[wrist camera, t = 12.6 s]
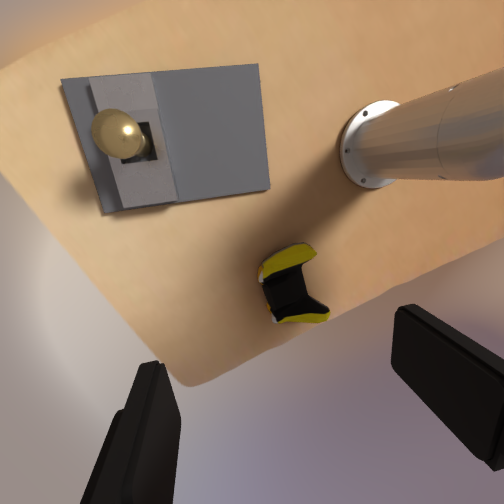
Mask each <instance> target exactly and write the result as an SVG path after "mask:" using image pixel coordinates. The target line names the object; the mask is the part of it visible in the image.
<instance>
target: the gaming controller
mask: <svg viewBox="0 0 504 504" xmlns="http://www.w3.org/2000/svg"><path fill="white" fill-rule="evenodd" d="M316 255H317V252H316V251H315V250H314V249H313V248H312V247H311V246H310V245H308V244H306V243H304V242H302V243H294V244H291V245H289V246H287V247H285V248H283V249H281V250H279V251H277V252H275V253H274V254H272V255H271V256H270V257H268V258H267V259H265V260H264V261H263V262H262V265H261V266H260V267H259V270H258V275H257V279H258V281H259V283H260V284H261V285H262V287H263V290H264V293H265V296H266V299H267V305H266V306H267V308H268V310H269V312H270V313H271V314H272V321H273V323H279V324H281V323H283V322H286V321H288V322H306V323H320V322H324V321H327V319H328V318H329V316H330V310H329V308H328V307H327V306H325V305H324V304H322V303H320V302H319V301H317V300H315V299H314V298H312V297H311V296H309V295H308V293H307V289H306V285H305V281H304V278H303V274H302V269H301V267H302V264H304V263H305V262H307V261H309V260H311V259H312V258H313V257H315V256H316Z"/></svg>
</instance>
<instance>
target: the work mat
mask: <svg viewBox="0 0 504 504" xmlns="http://www.w3.org/2000/svg"><path fill="white" fill-rule="evenodd" d="M144 73H151V74H152V76H153V80H154V85H155V89H156V94H157V98H158V103H159V107H160V112H161V116H162V121H163V125H164V130H165V134H166V139H167V143H168V148H169V152H170V157H171V162H172V166H173V171H174V175H175V180H176V184H177V189H178V193H179V198H180V199H179V200H177V201H170V202H163V203H156V204H149V205H142V206H135V207H128V208H124V207H123V204H122V201H121V197H120V194H119V191H118V187H117V184H116V181H115V177H114V174H113V171H112V167H111V164H110V161H109V158H108V155H107V154H105V153H104V152H102V151H101V150H100V149H99V148H98V146H97V145H96V143H95V142H94V140H93V137H92V133H91V125H92V121H93V119H94V117H95V116H96V114H98V113H99V112H98V109H97V105H96V102H95V98H94V95H93V92H92V88H91V85H90V82H89V78H91V77H80V78H68V79H60V80H61V83H62V86H63V89H64V92H65V95H66V98H67V101H68V104H69V107H70V110H71V113H72V116H73V119H74V122H75V125H76V128H77V131H78V134H79V138H80V141H81V144H82V147H83V150H84V153H85V156H86V159H87V162H88V165H89V168H90V171H91V174H92V177H93V180H94V183H95V186H96V189H97V192H98V195H99V198H100V201H101V204H102V207H103V210H104V213H109V212H116V211H123V210H130V209H137V208H144V207H150V206H157V205H164V204H171V203H178V202H185V201H192V200H199V199H206V198H213V197H219V196H226V195H233V194H240V193H247V192H254V191H261V190H268V189H270V179H269V169H268V159H267V148H266V138H265V128H264V117H263V107H262V97H261V86H260V76H259V66H258V64H245V65H233V66H220V67H207V68H195V69H182V70H169V71H157V72H144ZM131 74H142V73H131ZM118 75H129V74H118ZM106 76H117V75H106ZM93 77H104V76H93ZM140 129H141V132H143V133H144V134H146V135H147V136H148V137H149V138H150V139H151V141H152V144H153V149H152V152H151V154H150V155H148V156H146V157H138V156H135V155H134V156H133V157H130V158H127V159H126V160H127V164H129V163H137V162H145V161H153V160H158V158H157V154H156V150H155V146H154V141H153V137H152V133H151V129H150V126H141V127H140Z"/></svg>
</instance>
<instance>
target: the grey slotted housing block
mask: <svg viewBox="0 0 504 504" xmlns="http://www.w3.org/2000/svg"><path fill="white" fill-rule="evenodd" d="M89 82H90V85H91V88H92V92H93V95H94V98H95V102H96V105H97V109H98V112H100V111H102V110H105V109H110V108H113V109H118V110H121V111H123V112H125V113H127V114H128V115H130V116H131V117H132V118H133V119H134V120H135V121H136V122H137V123H138V125H139V127H141V126H150V129H151V133H152V137H153V141H154V146H155V150H156V154H157V158H158V160H153V161H145V162H137V163H129V164H127V160H126V159H119V158H114V157H111V156H109V155H108V158H109V161H110V164H111V167H112V171H113V174H114V177H115V181H116V184H117V187H118V191H119V194H120V197H121V201H122V204H123V207H124V208H128V207H135V206H142V205H149V204H156V203H163V202H170V201H177V200H179V199H180V198H179V193H178V189H177V184H176V180H175V175H174V171H173V166H172V162H171V157H170V152H169V148H168V143H167V139H166V134H165V130H164V125H163V121H162V116H161V112H160V107H159V103H158V98H157V94H156V89H155V85H154V80H153V76H152V74H151V73H142V74H129V75H117V76H104V77H91V78H89ZM96 115H97V114H96Z"/></svg>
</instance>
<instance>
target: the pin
mask: <svg viewBox="0 0 504 504" xmlns="http://www.w3.org/2000/svg"><path fill="white" fill-rule="evenodd" d="M91 133H92V137H93V140H94V142H95V143H96V145H97V146H98V148H99V149H100V150H101V151H102V152H104V153H105V154H107V155H109V156H111V157H114V158H119V159H127V158H130V157H133V156H134V155H135V156H138V157H146V156H148V155H150V154H151V152H152V149H153V144H152V141H151V139H150V138H149V137H148V136H147V135H146V134H144V133H143V132H141V129H140V127H139V125H138V123H137V122H136V121H135V120H134V119H133V118H132V117H131V116H130V115H128V114H127V113H125V112H123V111H121V110H118V109H113V108H110V109H105V110H102V111H100V112H99V113H98V114H97V115H96V116H95V117H94V119H93V121H92V125H91Z"/></svg>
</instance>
